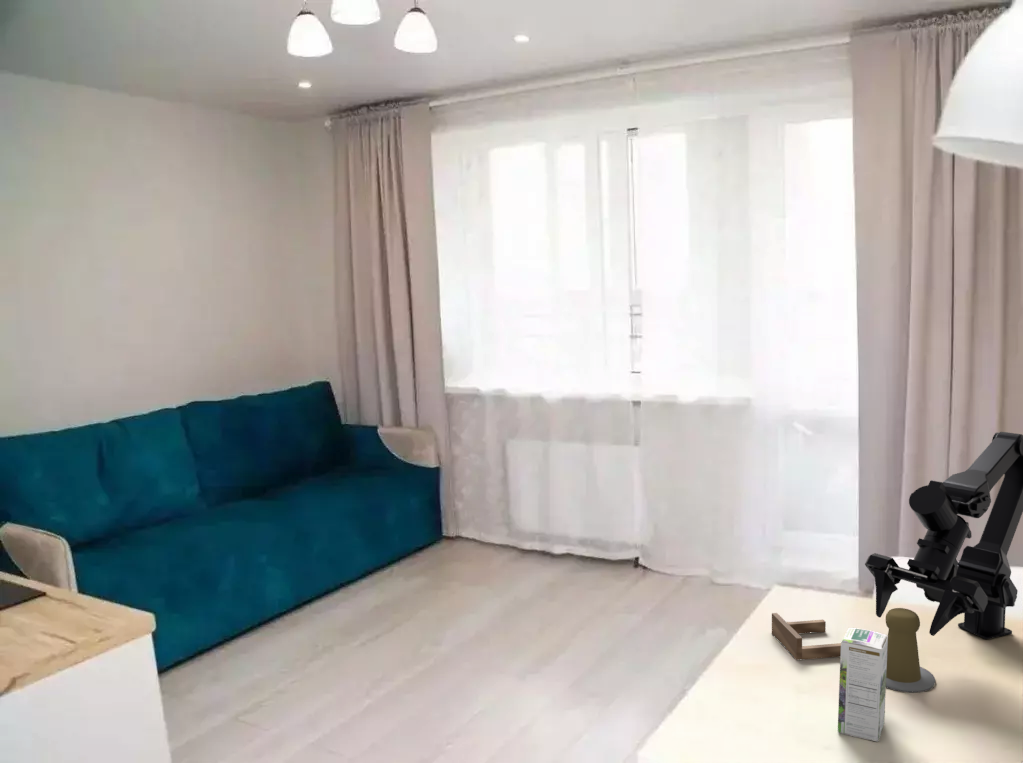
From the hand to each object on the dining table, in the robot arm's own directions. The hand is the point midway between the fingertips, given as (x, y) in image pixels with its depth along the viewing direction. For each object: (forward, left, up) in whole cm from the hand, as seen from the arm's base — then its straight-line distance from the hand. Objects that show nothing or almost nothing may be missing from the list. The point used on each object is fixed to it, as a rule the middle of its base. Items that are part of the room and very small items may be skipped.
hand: (903, 625), depth 142 cm
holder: (+5, -16, -9) cm, 19 cm away
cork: (0, 0, -9) cm, 9 cm away
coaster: (0, 0, -9) cm, 9 cm away
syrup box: (+17, +10, -9) cm, 22 cm away
